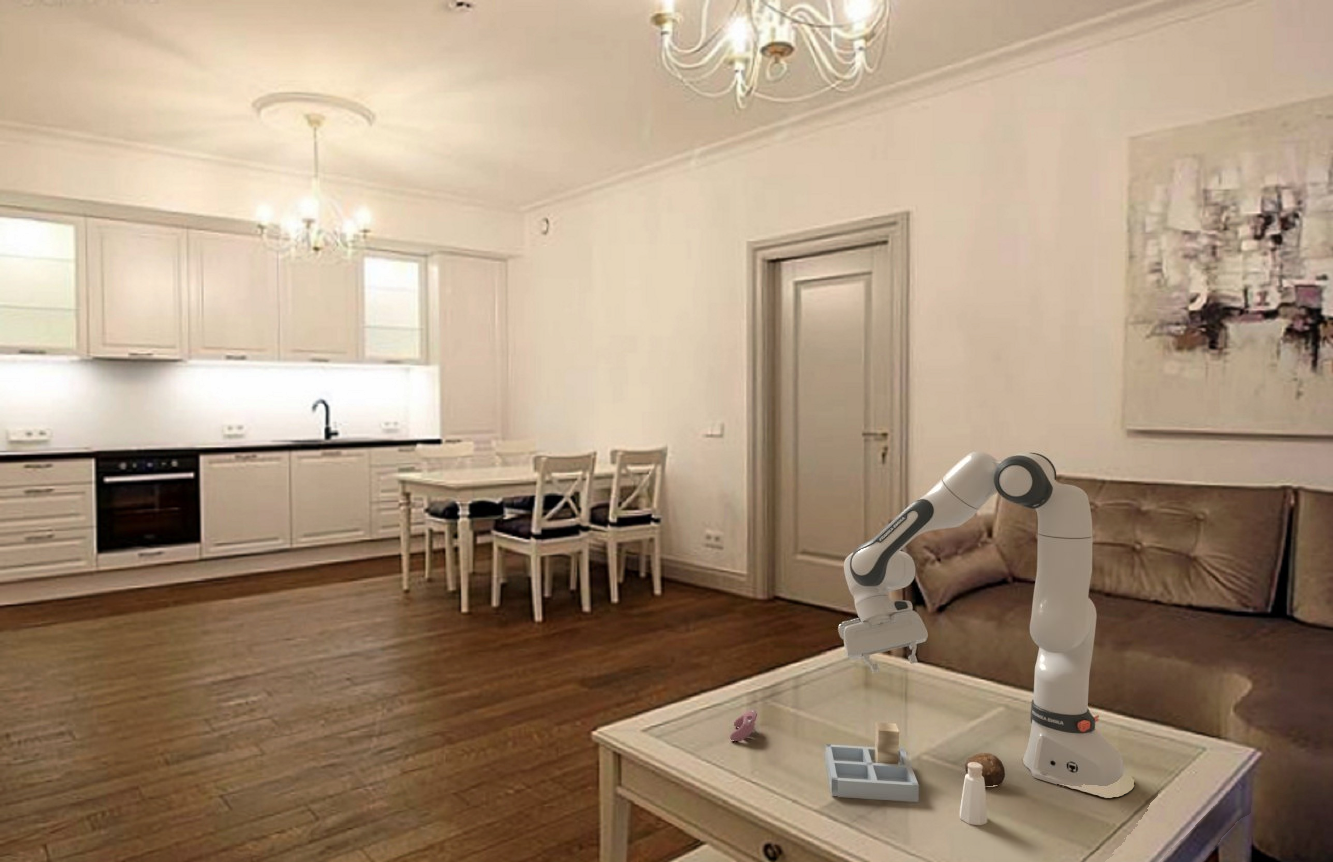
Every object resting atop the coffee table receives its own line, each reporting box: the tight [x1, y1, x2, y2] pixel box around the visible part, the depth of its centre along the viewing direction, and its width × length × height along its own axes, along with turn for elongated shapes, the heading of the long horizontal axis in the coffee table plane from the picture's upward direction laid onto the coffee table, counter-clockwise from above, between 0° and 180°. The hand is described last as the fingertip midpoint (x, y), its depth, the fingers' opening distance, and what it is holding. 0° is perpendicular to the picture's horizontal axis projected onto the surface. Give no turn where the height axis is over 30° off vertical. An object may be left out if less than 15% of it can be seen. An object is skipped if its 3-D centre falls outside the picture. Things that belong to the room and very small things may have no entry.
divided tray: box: [824, 743, 920, 803], centre depth 185 cm, size 18×18×4 cm
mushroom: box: [964, 752, 1006, 786], centre depth 185 cm, size 8×8×6 cm
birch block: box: [874, 722, 900, 764], centre depth 189 cm, size 4×4×9 cm
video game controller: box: [729, 708, 758, 742], centre depth 207 cm, size 10×5×7 cm, turn 169°
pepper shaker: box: [959, 762, 988, 826], centre depth 169 cm, size 5×5×11 cm
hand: (895, 667), depth 206 cm, fingers open, 8 cm apart
